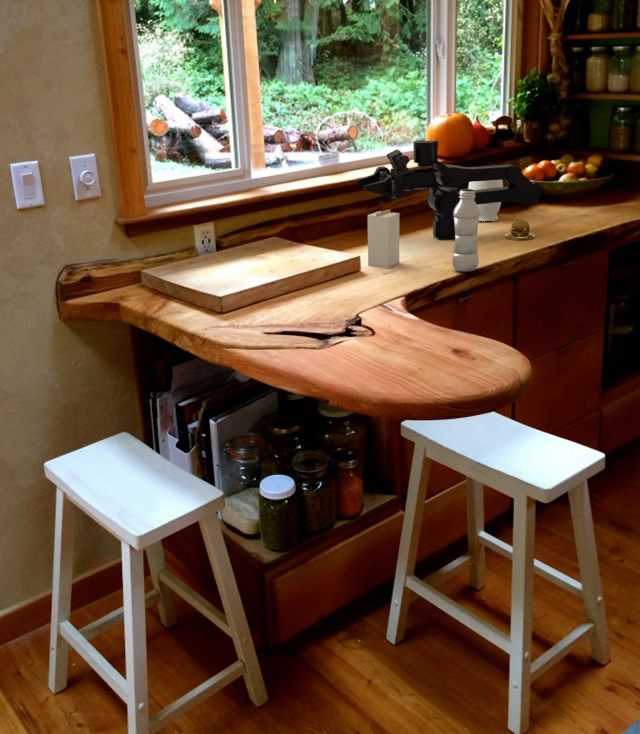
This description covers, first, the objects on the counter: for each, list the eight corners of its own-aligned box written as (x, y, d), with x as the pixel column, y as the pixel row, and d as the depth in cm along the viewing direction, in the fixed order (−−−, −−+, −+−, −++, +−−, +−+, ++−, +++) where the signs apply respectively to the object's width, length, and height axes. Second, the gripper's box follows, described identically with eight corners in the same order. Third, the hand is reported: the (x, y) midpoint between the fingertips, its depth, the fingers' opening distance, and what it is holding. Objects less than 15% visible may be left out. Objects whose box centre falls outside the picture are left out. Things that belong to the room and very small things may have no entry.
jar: (506, 218, 259) (508, 169, 253) (494, 224, 251) (496, 175, 245) (474, 215, 264) (476, 168, 259) (462, 221, 256) (463, 173, 251)
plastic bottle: (462, 276, 200) (465, 193, 192) (446, 270, 206) (448, 189, 198) (483, 272, 203) (487, 190, 195) (467, 266, 208) (469, 186, 201)
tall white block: (379, 260, 217) (379, 208, 211) (399, 263, 213) (399, 210, 208) (368, 265, 212) (367, 212, 207) (387, 268, 209) (387, 214, 204)
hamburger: (505, 245, 229) (506, 226, 227) (493, 235, 240) (494, 217, 238) (547, 243, 230) (548, 223, 228) (532, 233, 241) (534, 214, 239)
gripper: (404, 146, 235) (351, 151, 233) (424, 154, 218) (367, 160, 216) (405, 185, 239) (353, 190, 237) (424, 196, 222) (369, 202, 220)
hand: (360, 185), depth 227 cm, fingers open, 9 cm apart
